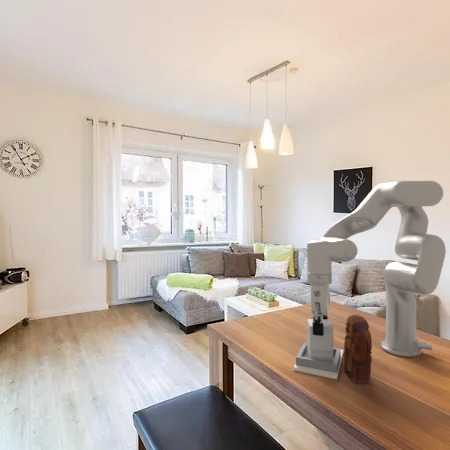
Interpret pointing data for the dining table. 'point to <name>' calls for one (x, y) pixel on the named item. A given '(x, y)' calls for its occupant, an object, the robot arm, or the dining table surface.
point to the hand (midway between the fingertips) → (320, 329)
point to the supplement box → (320, 342)
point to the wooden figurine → (357, 349)
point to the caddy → (318, 363)
